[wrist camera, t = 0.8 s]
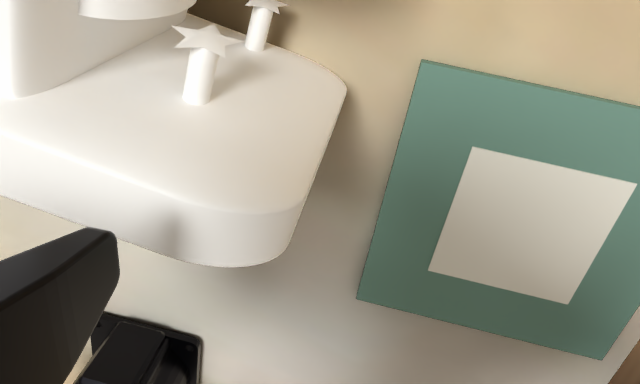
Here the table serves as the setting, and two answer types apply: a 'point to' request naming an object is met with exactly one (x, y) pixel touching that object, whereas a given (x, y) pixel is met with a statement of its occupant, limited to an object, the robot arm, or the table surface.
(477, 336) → the table surface
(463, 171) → the green flat square panel
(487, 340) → the table surface
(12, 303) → the robot arm
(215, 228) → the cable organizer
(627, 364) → the walnut block
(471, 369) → the table surface
